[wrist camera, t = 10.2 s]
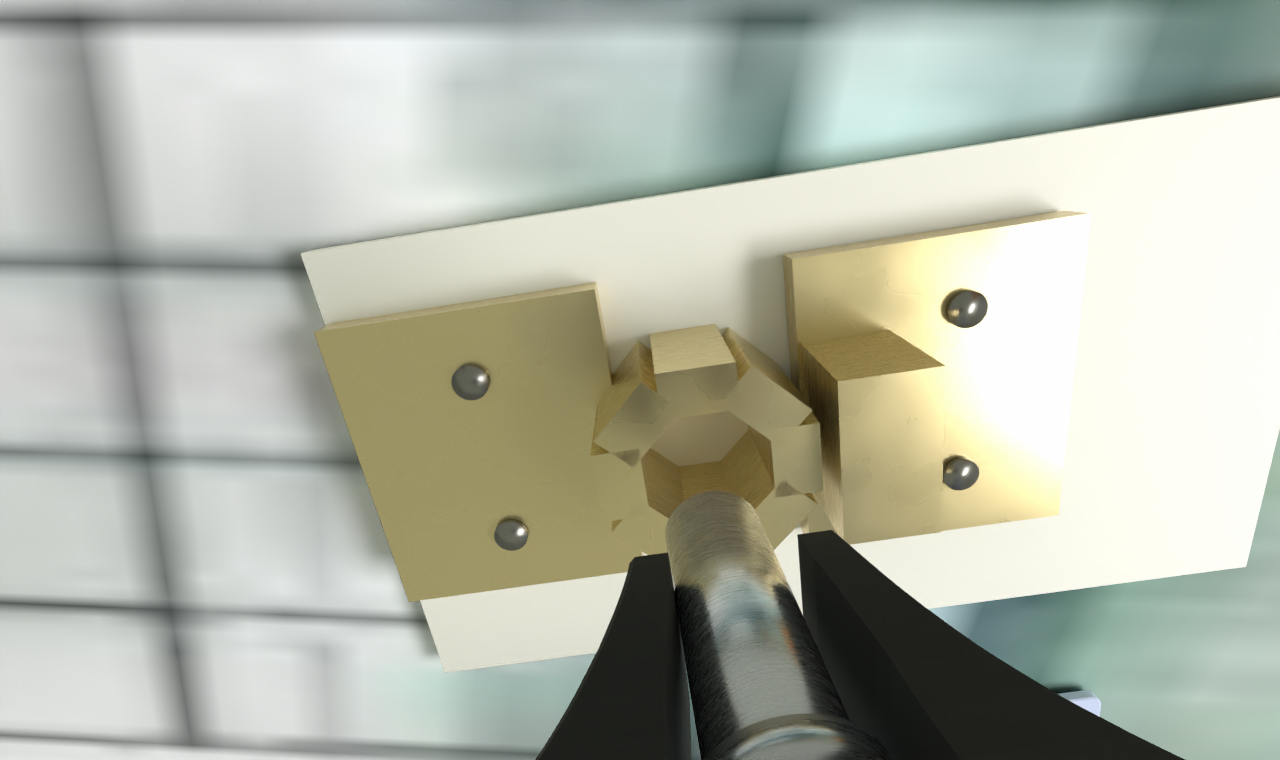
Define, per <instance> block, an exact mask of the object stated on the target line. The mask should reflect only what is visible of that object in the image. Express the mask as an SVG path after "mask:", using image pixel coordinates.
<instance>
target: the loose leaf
mask: <svg viewBox="0 0 1280 760" xmlns="http://www.w3.org/2000/svg"><path fill="white" fill-rule="evenodd" d="M1090 219H1091V213H1083V212H1073V211H1057V212H1051V213H1045V214H1038V215H1032V216H1025V217H1019V218H1012V219H1006V220H999V221H993V222H986V223H980V224H973V225H967V226H960V227H954V228H947V229H941V230H934V231H928V232H921V233H915V234H908V235H902V236H896V237H889V238H883V239H876V240H870V241H863V242H857V243H850V244H844V245H837V246H831V247H824V248H818V249H811V250H805V251H798V252H792V253H785V254H783V267H784V282H785V297H786V312H787V326H788V341H789V356H790V371H791V382H792V383H793V384H794V386H795V387H796V388H797V390H798V391H799V392H800V394H801V395H802V396H803V398H804V399H805V400H806V402H807V403H808V404H809V406H810V407H811V408H812V410H813V411H812V413H813V414H814V416H815V417H816V418H817V420H818V421H819V423H820V437H821V457H822V476H823V491H821V492H814V493H812V494H813V496H814V498H815V500H816V501H817V503H818V505H817V506H816V507H815V508H814V509H813V510H812V511H811V512H810V513H809V514H808V515H807V516H806V517H805V518H804V519H803V520H802V521H801V531H802V533H803V534H805V533H812V532H819V531H826V530H833V531H834V532H835V533H836V534H838V535H839V536H840V537H841V538H842V539H844V540H845V541H846V542H847V543H848V544H849V545H851V544H859V543H866V542H873V541H881V540H888V539H895V538H903V537H910V536H917V535H924V534H932V533H939V532H941V531H947V530H954V529H961V528H968V527H976V526H983V525H990V524H998V523H1005V522H1012V521H1020V520H1027V519H1034V518H1042V517H1049V516H1056V515H1059V506H1060V497H1061V487H1062V478H1063V469H1064V460H1065V450H1066V441H1067V432H1068V423H1069V413H1070V404H1071V395H1072V385H1073V376H1074V367H1075V358H1076V348H1077V339H1078V330H1079V321H1080V311H1081V302H1082V293H1083V283H1084V274H1085V265H1086V256H1087V246H1088V237H1089V228H1090Z"/></svg>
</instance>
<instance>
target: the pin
mask: <svg viewBox="0 0 1280 760" xmlns="http://www.w3.org/2000/svg"><path fill="white" fill-rule="evenodd" d="M665 540H666V546H667V552H668V555H669V561H670V567H671V574H672V580H673V586H674V593H675V601H676V607H677V614H678V620H679V626H680V632H681V638H682V644H683V650H684V656H685V662H686V669H687V675H688V681H689V687H690V693H691V699H692V705H693V711H694V717H695V724H696V730H697V736H698V742H699V748H700V754H701V760H891V758H890V756H889V754H888V752H887V751H886V749H885V747H884V746H883V744H882V743H881V742H880V741H879V740H878V739H877V738H876V737H875V736H874V735H873V734H871V733H870V732H869V731H868V730H866V729H864V728H863V727H861V726H859V725H858V724H855V723H853V722H851V721H850V719H849V717H848V715H847V712H846V710H845V708H844V706H843V703H842V701H841V699H840V697H839V695H838V692H837V690H836V688H835V686H834V683H833V681H832V679H831V677H830V675H829V672H828V670H827V668H826V666H825V663H824V661H823V659H822V657H821V655H820V652H819V650H818V648H817V646H816V643H815V641H814V639H813V637H812V635H811V632H810V630H809V628H808V626H807V623H806V621H805V619H804V617H803V615H802V612H801V610H800V608H799V606H798V603H797V601H796V599H795V597H794V595H793V592H792V590H791V588H790V586H789V583H788V581H787V579H786V577H785V575H784V572H783V570H782V568H781V566H780V563H779V561H778V559H777V557H776V555H775V552H774V550H773V548H772V546H771V543H770V541H769V539H768V537H767V535H766V532H765V530H764V528H763V526H762V523H761V521H760V519H759V517H758V515H757V512H756V511H755V509H754V508H753V507H752V505H751V504H750V503H749V502H748V501H746V500H745V499H744V498H742V497H740V496H738V495H736V494H733V493H730V492H726V491H707V492H703V493H699V494H696V495H694V496H692V497H690V498H688V499H686V500H685V501H684V502H682V503H681V504H680V505H679V506H678V507H677V508H676V509H675V510H674V511H673V513H672V514H671V516H670V518H669V520H668V522H667V526H666V531H665Z"/></svg>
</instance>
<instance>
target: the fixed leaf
mask: <svg viewBox="0 0 1280 760" xmlns="http://www.w3.org/2000/svg"><path fill="white" fill-rule="evenodd" d="M314 334H315V337H316V340H317V343H318V345H319V348H320V351H321V354H322V357H323V360H324V362H325V365H326V368H327V371H328V374H329V377H330V379H331V382H332V385H333V388H334V391H335V394H336V396H337V399H338V402H339V405H340V408H341V411H342V413H343V416H344V419H345V422H346V425H347V428H348V430H349V433H350V436H351V439H352V442H353V445H354V447H355V450H356V453H357V456H358V459H359V462H360V464H361V467H362V470H363V473H364V476H365V479H366V481H367V484H368V487H369V490H370V493H371V496H372V498H373V501H374V504H375V507H376V510H377V513H378V515H379V518H380V521H381V524H382V527H383V530H384V532H385V535H386V538H387V541H388V544H389V547H390V549H391V552H392V555H393V558H394V561H395V564H396V566H397V569H398V572H399V575H400V578H401V581H402V583H403V586H404V589H405V592H406V595H407V598H408V600H409V602H413V601H420V600H428V599H435V598H442V597H449V596H457V595H464V594H471V593H479V592H486V591H493V590H501V589H508V588H515V587H522V586H530V585H537V584H544V583H552V582H559V581H566V580H574V579H581V578H588V577H595V576H603V575H610V574H617V573H625V572H628V568H629V563H630V562H631V561H632V560H633V558H634V557H638V556H644V553H645V554H647V555H653V554H660V553H667V546H666V540H665V531H666V526H667V522H668V520H669V518H670V516H671V514H672V513H673V511H674V510H675V509H676V508H677V507H678V506H679V505H680V504H681V503H682V502H684V501H685V500H686V499H688V498H690V497H692V496H694V495H696V494H699V493H703V492H707V491H726V492H730V493H733V494H736V495H738V496H740V497H742V498H744V499H745V500H746V501H748V502H749V503H750V504H751V505H752V507H753V508H754V509H755V511H756V512H757V515H758V517H759V519H760V521H761V523H762V526H763V528H764V530H765V532H766V535H767V537H768V539H769V541H770V543H771V546H772V548H773V550H775V549H776V548H777V547H778V546H779V545H780V543H781V542H782V541H783V540H784V539H785V538H786V537H787V536H788V535H789V534H790V533H791V532H792V531H793V530H794V529H795V528H796V527H797V526H798V525H799V524H800V523H801V521H802V520H803V519H804V518H805V517H806V516H807V515H808V514H809V513H810V512H811V511H812V510H813V509H814V508H815V507H816V506H817V505H818V503H817V501H816V500H815V498H814V496H813V494H812V493H814V492H821V491H823V476H822V457H821V437H820V423H819V421H818V420H817V418H816V417H815V416H814V414H813V413H812V411H813V410H812V408H811V407H810V406H809V404H808V403H807V402H806V400H805V399H804V398H803V396H802V395H801V394H800V392H799V391H798V390H797V388H796V387H795V386H794V384H793V383H792V382H791V380H790V379H789V378H788V376H787V375H786V374H785V372H784V371H783V370H782V368H781V367H780V366H779V364H778V363H776V362H775V361H774V360H772V359H771V358H770V357H768V356H767V355H766V354H764V353H763V352H762V351H760V350H759V349H757V348H756V347H755V346H753V345H752V344H751V343H749V342H748V341H747V340H745V339H744V338H743V337H741V336H740V335H739V334H737V333H736V332H735V331H733V330H732V329H730V328H729V327H728V328H727V329H726V330H725V331H724V333H723V334H722V335H721V333H720V332H719V330H718V328H717V326H716V324H710V325H703V326H697V327H690V328H683V329H677V330H670V331H664V332H657V333H650V341H651V349H652V350H651V349H650V348H648V347H647V346H645V345H644V344H643V343H641V342H640V341H637V342H636V344H635V345H634V346H633V348H632V349H631V350H630V352H629V353H628V354H627V356H626V357H625V358H624V359H623V361H622V362H621V363H620V365H619V366H618V367H617V369H616V370H615V371H614V373H612V367H611V361H610V356H609V350H608V345H607V339H606V333H605V328H604V322H603V316H602V311H601V305H600V299H599V294H598V288H597V282H593V283H587V284H580V285H574V286H567V287H561V288H554V289H548V290H542V291H535V292H529V293H522V294H516V295H509V296H503V297H496V298H490V299H483V300H477V301H470V302H464V303H457V304H451V305H444V306H438V307H431V308H425V309H418V310H412V311H405V312H399V313H393V314H386V315H380V316H373V317H367V318H360V319H354V320H347V321H341V322H334V323H330V324H329V325H327V326H325V327H323V328H321V329H319V330H317V331H315V332H314ZM726 411H729V412H731V413H732V414H734V415H735V416H736V417H738V418H739V419H741V420H742V421H744V422H745V423H746V424H748V430H747V431H746V432H745V434H744V435H743V436H742V437H741V438H740V439H739V441H738V442H737V443H736V444H735V445H734V446H733V447H732V449H731V450H730V451H729V452H728V453H727V454H726V455H725V457H724V458H723V459H722V460H721V461H715V462H708V463H701V464H694V465H687V466H680V467H679V466H677V465H676V464H674V463H673V462H671V461H670V460H668V459H667V458H665V457H664V456H662V455H661V454H659V453H658V452H656V451H655V450H653V449H651V448H650V447H651V446H652V445H653V444H654V442H655V441H656V440H657V439H658V438H659V436H660V435H661V434H662V433H663V431H664V430H665V429H666V428H667V427H668V425H669V424H670V423H671V422H672V421H673V419H678V418H685V417H692V416H699V415H706V414H713V413H720V412H726Z"/></svg>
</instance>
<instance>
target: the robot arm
mask: <svg viewBox="0 0 1280 760" xmlns="http://www.w3.org/2000/svg"><path fill="white" fill-rule="evenodd" d="M797 537H798V551H799V565H800V580H801V594H802V608H803V617H804V619H805V621H806V623H807V626H808V628H809V630H810V632H811V635H812V637H813V639H814V641H815V643H816V646H817V648H818V650H819V652H820V655H821V657H822V659H823V661H824V663H825V666H826V668H827V670H828V672H829V675H830V677H831V679H832V681H833V683H834V686H835V688H836V690H837V692H838V695H839V697H840V699H841V701H842V703H843V706H844V708H845V710H846V712H847V715H848V717H849V719H850V721H851V722H853V723H855V724H858V725H859V726H861V727H863V728H864V729H866V730H868V731H869V732H870V733H871V734H873V735H874V736H875V737H876V738H877V739H878V740H879V741H880V742H881V743H882V744H883V746H884V747H885V749H886V751H887V752H888V754H889V756H890V758H891V760H1185V759H1183V758H1180V757H1178V756H1176V755H1174V754H1172V753H1170V752H1168V751H1166V750H1164V749H1162V748H1160V747H1158V746H1156V745H1154V744H1152V743H1149V742H1147V741H1145V740H1143V739H1141V738H1139V737H1137V736H1135V735H1133V734H1131V733H1129V732H1127V731H1125V730H1123V729H1122V728H1120V727H1118V726H1116V725H1114V724H1112V723H1110V722H1108V721H1106V720H1105V719H1103V718H1101V717H1099V716H1100V709H1101V702H1100V700H1099V699H1098V698H1097V697H1096V696H1095V695H1094V694H1093V692H1090V691H1076V692H1068V693H1060V694H1057V693H1055V692H1053V691H1051V690H1049V689H1048V688H1046V687H1044V686H1043V685H1041V684H1039V683H1038V682H1036V681H1034V680H1033V679H1031V678H1029V677H1028V676H1026V675H1025V674H1023V673H1021V672H1020V671H1018V670H1016V669H1015V668H1013V667H1011V666H1010V665H1008V664H1006V663H1005V662H1003V661H1002V660H1000V659H998V658H997V657H995V656H994V655H992V654H991V653H989V652H988V651H986V650H984V649H983V648H981V647H980V646H978V645H977V644H975V643H974V642H972V641H971V640H970V639H968V638H967V637H965V636H964V635H963V634H961V633H960V632H958V631H957V630H955V629H954V628H953V627H951V626H950V625H948V624H947V623H946V622H944V621H943V620H942V619H940V618H939V617H938V616H936V615H935V614H934V613H932V612H931V611H930V610H928V609H927V608H926V607H924V606H923V605H922V604H921V603H919V602H918V601H917V600H915V599H914V598H913V597H912V596H910V595H909V594H908V593H907V592H905V591H904V590H903V589H901V588H900V587H899V586H898V585H896V584H895V583H894V582H893V581H892V580H890V579H889V578H888V577H887V576H885V575H884V574H883V573H882V572H881V571H879V570H878V569H877V568H876V567H875V566H874V565H872V564H871V563H870V562H869V561H868V560H867V559H865V558H864V557H863V556H862V555H861V554H860V553H858V552H857V551H856V550H855V549H854V548H853V547H852V546H850V545H849V544H848V543H847V542H846V541H845V540H844V539H842V538H841V537H840V536H839V535H838V534H836V533H835V532H834V531H833V530H826V531H819V532H812V533H805V534H797ZM536 760H691V736H690V702H689V691H688V682H687V674H686V666H685V658H684V650H683V644H682V638H681V632H680V626H679V620H678V614H677V607H676V601H675V593H674V586H673V580H672V574H671V567H670V561H669V555H668V552H667V553H660V554H653V555H645V556H638V557H634V558H633V560H632V561H631V562H630V563H629V568H628V572H627V576H626V579H625V582H624V586H623V589H622V592H621V595H620V597H619V600H618V603H617V605H616V608H615V611H614V613H613V616H612V618H611V620H610V623H609V625H608V627H607V630H606V632H605V635H604V637H603V639H602V642H601V644H600V646H599V648H598V650H597V653H596V655H595V657H594V659H593V661H592V663H591V665H590V667H589V669H588V671H587V673H586V675H585V676H584V678H583V680H582V682H581V684H580V686H579V688H578V690H577V692H576V694H575V696H574V698H573V699H572V701H571V703H570V705H569V707H568V708H567V710H566V712H565V713H564V715H563V717H562V719H561V720H560V722H559V724H558V725H557V727H556V728H555V730H554V732H553V733H552V735H551V737H550V738H549V740H548V741H547V743H546V745H545V746H544V748H543V749H542V751H541V752H540V754H539V755H538V757H537V758H536Z"/></svg>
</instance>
